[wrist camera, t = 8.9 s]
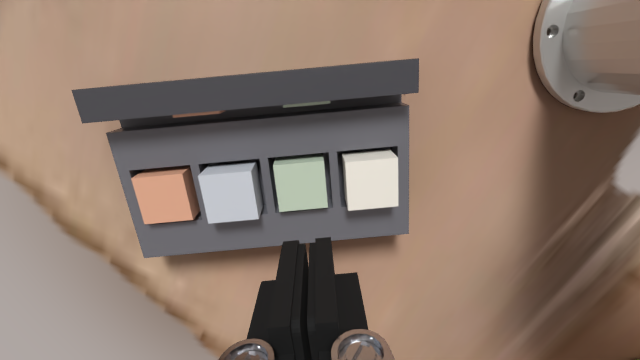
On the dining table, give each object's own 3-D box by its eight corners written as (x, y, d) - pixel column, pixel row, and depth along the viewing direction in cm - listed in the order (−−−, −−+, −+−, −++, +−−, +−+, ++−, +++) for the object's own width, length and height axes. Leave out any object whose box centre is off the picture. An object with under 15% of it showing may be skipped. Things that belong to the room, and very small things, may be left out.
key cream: (389, 149, 24) (398, 157, 22) (390, 193, 26) (398, 206, 23) (341, 153, 24) (345, 162, 22) (344, 198, 26) (348, 210, 23)
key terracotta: (193, 164, 25) (181, 173, 23) (203, 206, 26) (192, 219, 24) (147, 168, 25) (131, 178, 23) (158, 210, 26) (144, 224, 24)
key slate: (256, 161, 24) (250, 170, 22) (263, 205, 26) (258, 219, 23) (208, 165, 24) (197, 176, 22) (217, 209, 26) (208, 223, 23)
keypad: (396, 60, 25) (418, 58, 20) (397, 214, 29) (416, 246, 24) (121, 85, 25) (71, 90, 20) (162, 236, 29) (131, 273, 24)
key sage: (322, 152, 25) (323, 160, 23) (326, 195, 26) (327, 207, 24) (276, 156, 25) (273, 165, 23) (282, 199, 26) (279, 211, 24)
